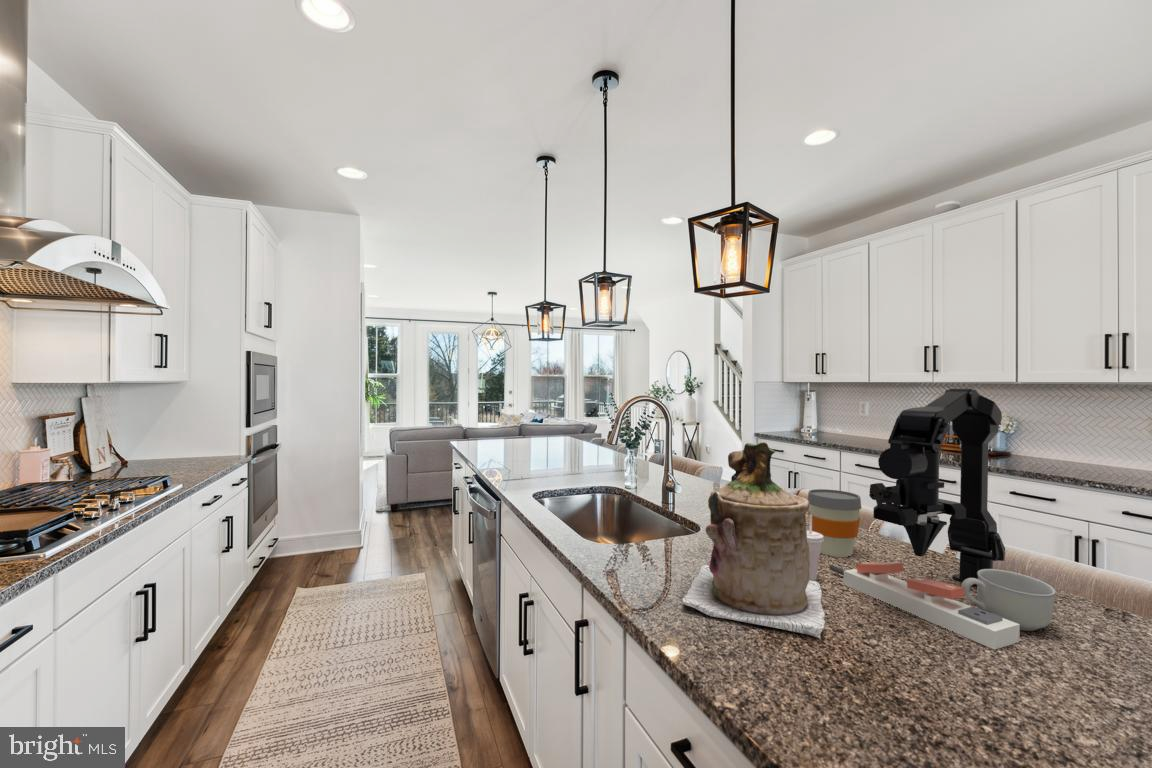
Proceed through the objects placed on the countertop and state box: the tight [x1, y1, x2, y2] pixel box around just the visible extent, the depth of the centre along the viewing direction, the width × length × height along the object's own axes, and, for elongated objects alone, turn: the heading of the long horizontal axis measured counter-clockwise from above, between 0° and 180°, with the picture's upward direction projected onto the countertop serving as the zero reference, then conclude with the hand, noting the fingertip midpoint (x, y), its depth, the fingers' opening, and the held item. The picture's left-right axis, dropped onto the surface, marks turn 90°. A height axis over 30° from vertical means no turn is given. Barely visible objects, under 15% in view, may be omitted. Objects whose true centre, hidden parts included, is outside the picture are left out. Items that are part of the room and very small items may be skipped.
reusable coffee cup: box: [807, 488, 862, 558], centre depth 128 cm, size 13×13×15 cm
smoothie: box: [806, 515, 824, 581], centre depth 110 cm, size 6×6×14 cm
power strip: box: [829, 564, 1021, 651], centre depth 97 cm, size 7×34×4 cm, turn 22°
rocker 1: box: [855, 561, 905, 574], centre depth 103 cm, size 4×8×2 cm, turn 22°
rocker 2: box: [906, 576, 966, 600], centre depth 92 cm, size 4×8×2 cm, turn 22°
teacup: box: [960, 568, 1057, 632], centre depth 90 cm, size 14×11×8 cm
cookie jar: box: [682, 441, 826, 640], centre depth 98 cm, size 25×25×32 cm
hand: (919, 555), depth 95 cm, fingers closed
